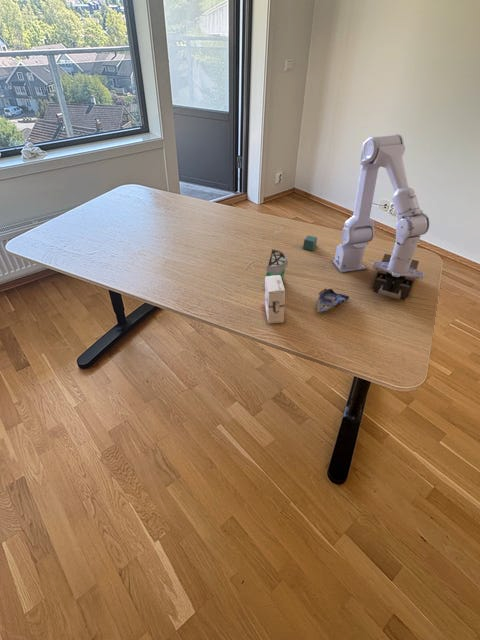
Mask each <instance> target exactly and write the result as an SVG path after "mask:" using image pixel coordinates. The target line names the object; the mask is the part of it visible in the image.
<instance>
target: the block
mask: <svg viewBox="0 0 480 640" xmlns="http://www.w3.org/2000/svg"><path fill="white" fill-rule="evenodd" d="M317 242H318V237H317V236H313V235H306V237H305V238H304V239H303V246H302V248H303V250H308V251H311V252H312V251H314V250H315V249H316V247H317Z"/></svg>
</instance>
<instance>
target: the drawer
mask: <svg viewBox="0 0 480 640" xmlns="http://www.w3.org/2000/svg"><path fill="white" fill-rule="evenodd" d="M394 281H395V278H394V280H393V283H392V286H393V284H394ZM409 282H410V281H406V280H404V281H403V283H401V284H400V285H399V286H398V287H397V288H396V289H395V290H394V292H393V293H392V292H388V286H387V281H386V276H385V275H381V274H380V277H379V278H377V280H376V283H375V287H374V289H372V293H374V294H378V295H383V296H386V297H389V298H394V299H398V300H401V301H406V299H407V297H406V296H407V293H408V291H409V288H410V285H409Z"/></svg>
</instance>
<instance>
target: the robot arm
mask: <svg viewBox="0 0 480 640" xmlns="http://www.w3.org/2000/svg"><path fill="white" fill-rule="evenodd" d="M405 150H406V146H405V142H404V138H403V136H402V135H401V134H393V135H382V136H369V137H368V138H367V139H366V140H365V141H363V143H362V146H361V153H360V160H359V164H360V170H359V176H358V183H357V188H356V189H357V190H356V196H355V201H354V207H353V214H352V216H350V218H348V219H347V220H346V221H345V222H344V224H343V225H344V227H343V228H342V231H341V234H340V235H341V237H340V238H341V241H342V242H343V243H340V244H337V246H336V249H335V254H334V259H332V262H333V264H334V265H335V266H336V267H337V269H338V270H339V271H340V272H341V273H346V272H354V271H361V270H366V266H365V265H364V264H363V259H364V256H365V251H366V247H367V246H368V245H369V243H370V242H372V241H373V239H374V237H375V221H374V220H373V219H372V218H371V211H372V206H373V201H374V197H375V196H374V195H375V191H376V185H377V179H378V173H379V168H381V167H382V168H385V171H386V173H387V175H388V178H389V181H390V183H391V185H392V188H393V191H394V193H393V195H392V199H391V200H392V203H393V207H394V211H395V213H396V217H397V222H396V223H395V243H394V246H393V249H392V253H391V255H392V256H391V259H390V262H389V263H388V262H382V261H376V260H374V261H373V262H372V265H371V270H373V271H375V270H377V271H378V270H381V271H385V272H387V274H386V281H387V286H388V292H392V293H393V292H394V290H395V289H396V288H397V287H398V286H399V285H400V284H401V283H403V281H404V280H405V276H407V277H411V278H414V280H417V281H419V282H422V281H423V279H424V277H425V272H424V271H420V270H418V269H417V270H415V269H413V268H410V264H411V262H412V260H414V256H415V253H416V250H417V247H418V245H419V242H420V240H421V237H422V236H423V235H425V234H426V233H428V231H429V228H430V218H429V216H428V215H427V214H426V213H424V211H423V210H422V209H421V208H420V205H419V203H418V202H419V201H418V198H417V194H416V192H415V189H414V188H412V187H409V184H408V179H407V174H406V170H405V164H404V159H403V156H404V154H405ZM394 277H396V278H395V281H394V284H393V286H392V283H393V280H394Z"/></svg>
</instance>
